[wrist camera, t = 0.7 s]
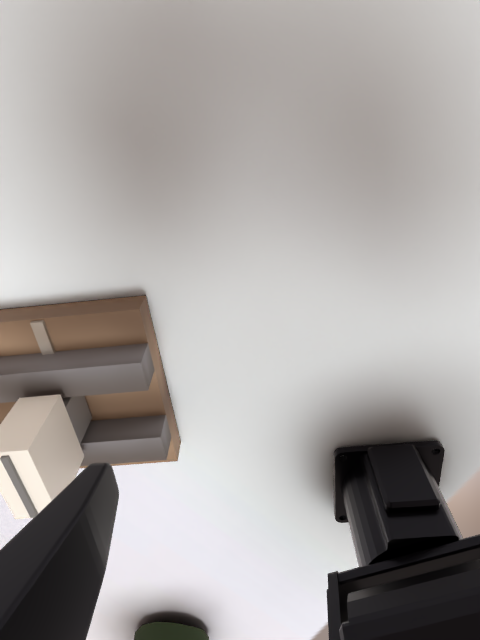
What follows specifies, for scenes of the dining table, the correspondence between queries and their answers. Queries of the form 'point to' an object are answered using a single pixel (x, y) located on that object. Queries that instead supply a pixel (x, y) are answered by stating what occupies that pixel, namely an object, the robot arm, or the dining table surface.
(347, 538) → the dining table surface
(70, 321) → the fader board
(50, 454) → the fader tab
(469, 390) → the dining table surface
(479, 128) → the dining table surface
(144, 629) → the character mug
